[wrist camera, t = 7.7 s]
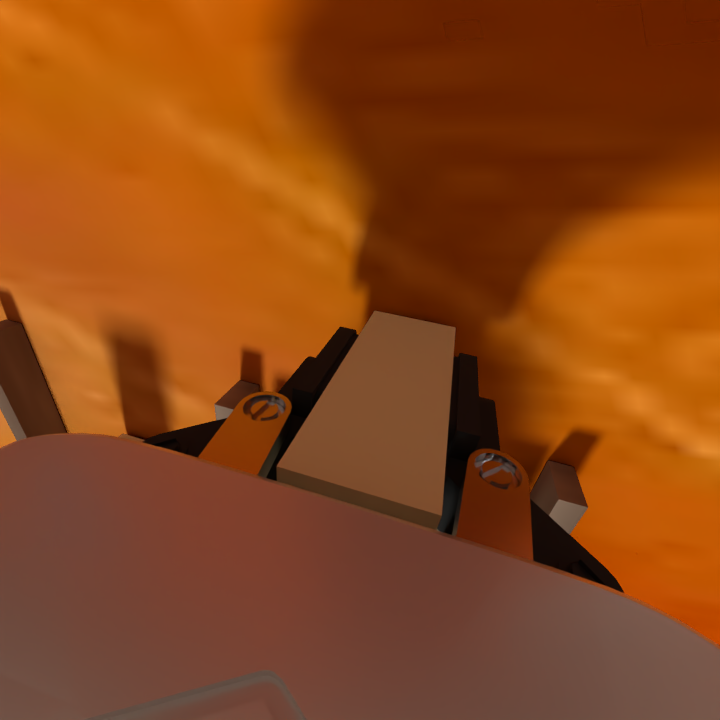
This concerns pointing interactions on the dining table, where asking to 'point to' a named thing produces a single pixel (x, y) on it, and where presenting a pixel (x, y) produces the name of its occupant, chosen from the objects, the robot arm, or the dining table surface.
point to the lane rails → (40, 417)
